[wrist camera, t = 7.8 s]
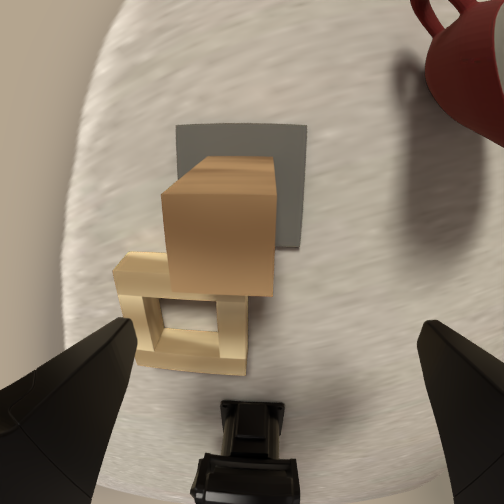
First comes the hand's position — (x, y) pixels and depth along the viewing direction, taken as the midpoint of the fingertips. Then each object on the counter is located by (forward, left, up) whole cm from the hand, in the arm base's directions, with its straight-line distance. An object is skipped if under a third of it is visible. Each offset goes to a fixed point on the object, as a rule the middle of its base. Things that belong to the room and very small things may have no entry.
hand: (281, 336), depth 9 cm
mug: (+11, -11, -13) cm, 20 cm away
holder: (-8, +6, -13) cm, 16 cm away
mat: (+1, +2, -13) cm, 13 cm away
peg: (+1, +2, -12) cm, 13 cm away
